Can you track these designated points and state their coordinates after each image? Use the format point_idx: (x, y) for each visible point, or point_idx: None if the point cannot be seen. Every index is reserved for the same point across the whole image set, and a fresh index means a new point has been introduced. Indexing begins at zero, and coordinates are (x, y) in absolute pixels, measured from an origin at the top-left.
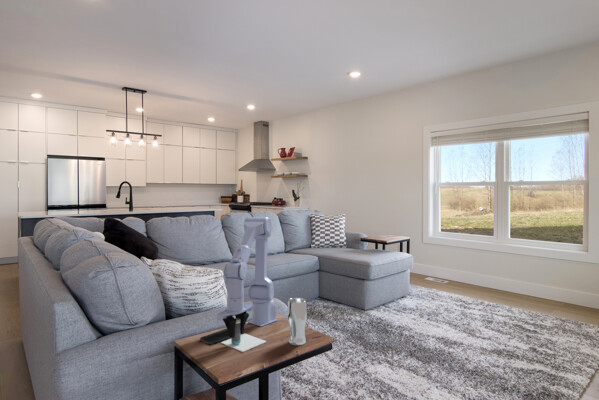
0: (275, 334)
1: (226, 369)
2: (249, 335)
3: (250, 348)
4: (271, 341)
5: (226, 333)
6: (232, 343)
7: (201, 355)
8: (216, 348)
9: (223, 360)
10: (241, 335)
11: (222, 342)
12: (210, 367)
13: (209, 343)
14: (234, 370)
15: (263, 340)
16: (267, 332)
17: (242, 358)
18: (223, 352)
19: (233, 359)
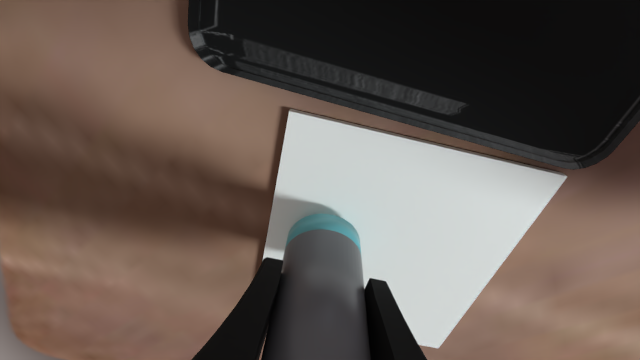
0: (577, 338)
1: (73, 328)
2: (517, 234)
3: None
4: (455, 354)
5: (521, 8)
6: (287, 237)
7: (28, 124)
8: (190, 144)
9: (113, 279)
10: (505, 180)
11: (293, 127)
12: (14, 269)
13: (191, 30)
14: (97, 352)
15: (445, 333)
16: (617, 293)
17: (199, 332)
18: (180, 226)
19: (160, 308)
